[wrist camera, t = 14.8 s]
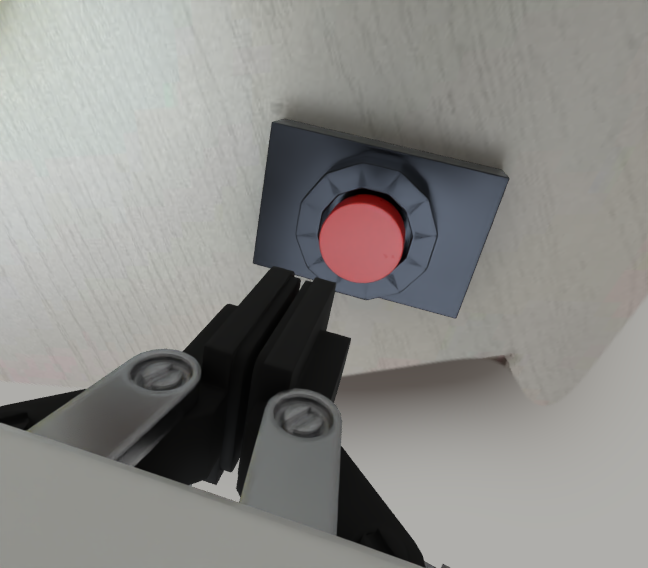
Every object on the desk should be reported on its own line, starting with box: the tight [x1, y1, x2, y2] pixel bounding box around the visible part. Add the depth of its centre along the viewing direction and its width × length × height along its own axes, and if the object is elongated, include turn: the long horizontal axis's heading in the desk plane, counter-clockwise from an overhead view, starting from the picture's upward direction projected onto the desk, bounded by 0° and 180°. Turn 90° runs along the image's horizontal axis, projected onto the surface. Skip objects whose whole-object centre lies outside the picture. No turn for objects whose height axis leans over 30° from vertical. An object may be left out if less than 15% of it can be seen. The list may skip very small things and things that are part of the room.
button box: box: [253, 119, 509, 318], centre depth 24 cm, size 12×8×4 cm, turn 79°
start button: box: [319, 194, 405, 283], centre depth 22 cm, size 4×4×2 cm
